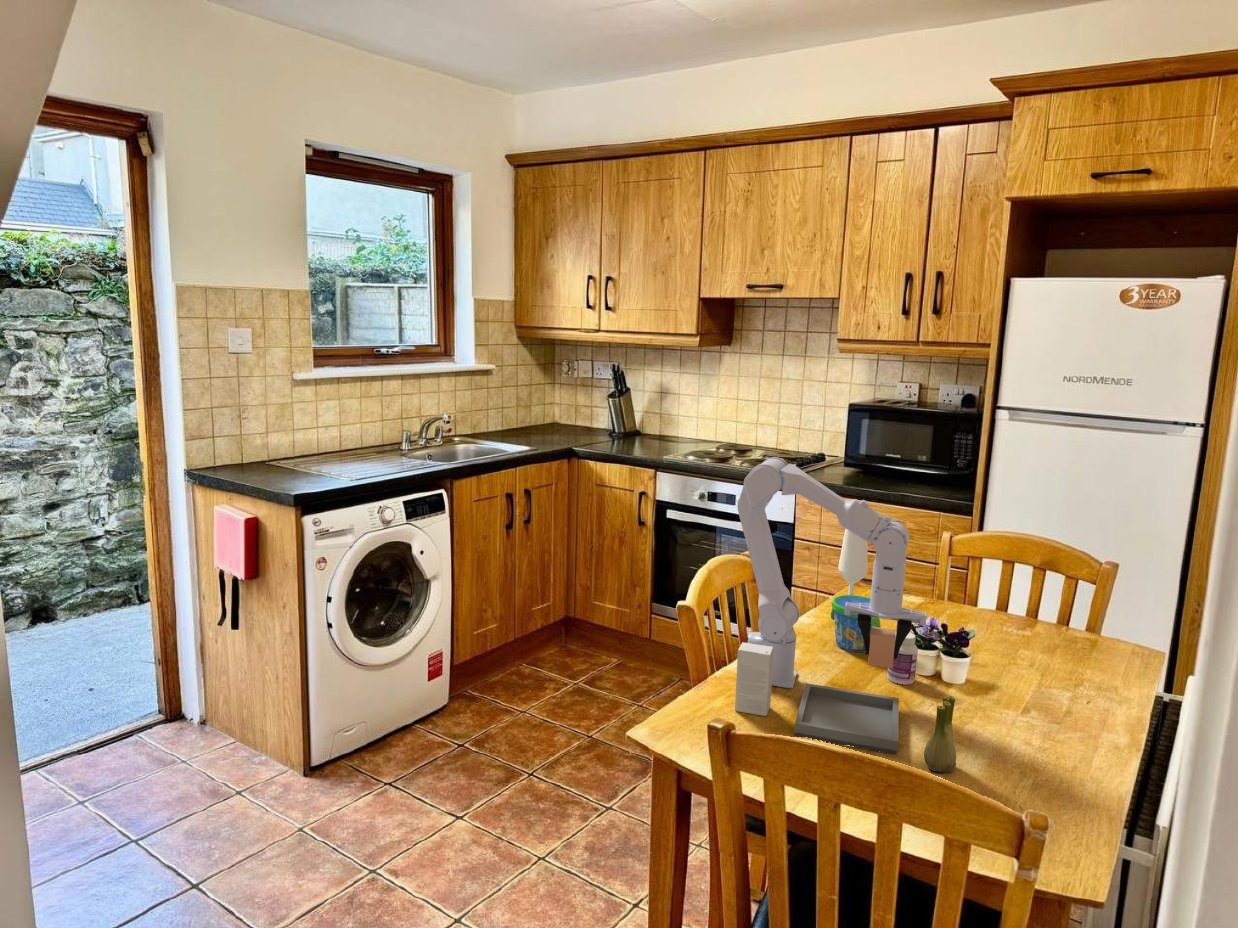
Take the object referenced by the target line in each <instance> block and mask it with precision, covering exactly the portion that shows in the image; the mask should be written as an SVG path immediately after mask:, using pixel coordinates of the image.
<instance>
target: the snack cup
mask: <svg viewBox="0 0 1238 928" xmlns="http://www.w3.org/2000/svg"><path fill="white" fill-rule="evenodd" d="M870 598H871V597H867V596H863V595H858V594H857V595H856V594H853V595H848V594H844V595H838V596H836V597H834V598H833V600H832V601H831V607H832V608H831V611H830V618H831V620H832V621H834V620H835V622H834V633H835V644H836V645H837V646H838V647H840V648H842V649H843V650H845V651H847V652H848V651H850V652H854V653H865V644H864V640H863V636H862V633H861V630H860V628H859V625H858V622H857V619H858V615H852V614H851V615H845V604H846V602H851V603H870ZM871 627H879V628H882V627H881V621H880V618H874V617H871ZM871 627H870V638H871Z"/></svg>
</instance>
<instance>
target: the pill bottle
mask: <svg viewBox="0 0 1238 928" xmlns="http://www.w3.org/2000/svg"><path fill="white" fill-rule="evenodd" d="M895 639H896V635H895ZM918 649H919V648H918V647H917V645H916V635H915V633H912V632H911V631H910V632H909V634H908V635H907V637H906V638H905V640H904V641H903V643H902V645H901V647H900V650H899V653H898V656H897V659H893V668H887V675H886V676H887V679H888V680H889V681H890V682H892V683H893V684H897V683H898V685H902V684H903V685H904V686H907V685H908V684H909V685H912V684H913V683H914V682H915V680H916V673H917V665H918V664H917V663H918V662H917V661H918V654H919V653H918V652H919V650H918Z"/></svg>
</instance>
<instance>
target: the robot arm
mask: <svg viewBox="0 0 1238 928" xmlns="http://www.w3.org/2000/svg"><path fill="white" fill-rule="evenodd" d="M779 491H781V496H790V495H791V496H793V495H800V496H802V497H803V498H805V499H807V500H809V501H810V502H812V503H814V504H816V505H818V506H819V507H821V508H823V509H825V510H827V511H828V512H831V513H832V514H834V515H835V516H836V517H837V521H838V524H839V526H841V527H842V528H844V529H845V528H846V529H847V530H849V531H850V532H852V533H854V534H855V535H857V536H859V537H860V538H862V539H863V540H865V541H866V540H867V541H866V542H867V544H873V549H874V550H875V557H874V561H873V567H872V577H871V578H872V579H871V587H870V589H871V590H870V597H869V598H870V603H851V602H846V604H845V615H851V614H852V615H858V619H857V622H858V625H859V628H860V630H861V633H862V636H863V640H864V644H865V652H864V655H866V656H869V648H870V627H871V617H874V618H879V619H882V620H887V621H889V620H890V621H896V639H895V648H894V658H893V659H897V656H898V653H899V650H900V647H901V645H902V643H903V641H904V640H905V638H906V637H907V635H908V634H909V632H910V633H911V631H912V624H918V625H920V626H924V627H925V626H927V612H926V611H919V610H914V609H912V608H911V609H910V608H906V607H903V599H904V598H903V597H904V588H905V577H906V569H907V564H906V561H907V549H908V548H909V547H908V545H909V542H910V533H909V532H910V531H909V529H908V528H907V526H906V525H905V524H904V523H902V522H901V520H899V519H892V517H891V516H890V515H886V516H885V515H883V514H882V513H880V512H878V511H877V510H875V509H873V508H872V507H871V506H869V505H870V503H869V501H867V500H865V499H862V500H861V501H860V500H858V499H856V498H855V499H850V500H849V499H848V500H847V499H844V498H843V496H841V495H838V493H836V492H834V490H831V489H830V488H828V487H827V486H825V485H824V484H822V483H821V482H819V481H818V480H817V479H815V478H813V477H812V476H811V475H810V474H808V473H806V472H804V471H803V470H802V469H800V468H799V467H798V466H796V465H794V464H792V463H788V462H787V461H786V460H784V459H783V458H780V457H776V456H773V457H769V458H766V459H764V461H762V463H760V464H757V465H756V466H755V467H753V468H752V469H751V470H750V472H749V473H748V474H746V476H745V478H744V480H743V485H742V489H741V493H740V496H739V498H738V502H737V504H736V505H737V511H738V517H739V520H740V524H741V528H742V531H743V535H744V538H745V539H744V541H745V544H746V546H747V551H748V555H749V559H750V562H751V563H750V564H751V566H752V570H753V574H754V578H755V583H756V586H757V590H758V602H757V603H758V604H757V609H758V613H759V616H758V617H759V618H758V622H757V626H758V628H757V629H758V631H752V632H751V631H750V632H749V635H748V638H747V643H751V644H757V645H764V646H771V647H774V651H773V668H772V686H773V687H780V688H786V689H793V688H794V685H795V682H796V678H797V676H798V670H795V661H796V660H795V659H796V658H795V657H796V649H797V648H796V645H797V633H796V631H795V629H794V625H795V624H797V622H798V620H799V617H800V609H799V607H798V605H797V603H796V602H795V601H794V600H793V598H792V597H791V593H790V590H789V589H788V587H786V585H785V583H784V579H783V575H782V571H781V567H780V564H779V559H778V555H777V552H776V547H775V544H774V541H773V536H772V535H773V534H772V532H771V528H770V524H769V519H768V516H767V512H766V508H767V506H768V505H769V503H770V502H771V501H772V500H773V497H774V496H775V495H776V494H777V493H778V492H779Z"/></svg>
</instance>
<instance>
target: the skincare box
mask: <svg viewBox="0 0 1238 928" xmlns="http://www.w3.org/2000/svg"><path fill="white" fill-rule="evenodd" d="M773 651H774V647H771V646H764V645H757V644H751V643H748V642H743V641H742V642H741V644H740V646H739V647H738V649H737V661H736V663H737V664H736V678H735V679H736V681H735V698H734V700H735V701H734V711H735V712H741V713H744V714H745V713H746V714H751V715H757V716H761V717H767V716H768V713H769V712H770V708H771V702H772V701H771V700H772V699H771V698H772V686H773V685H772V668H773Z"/></svg>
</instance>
